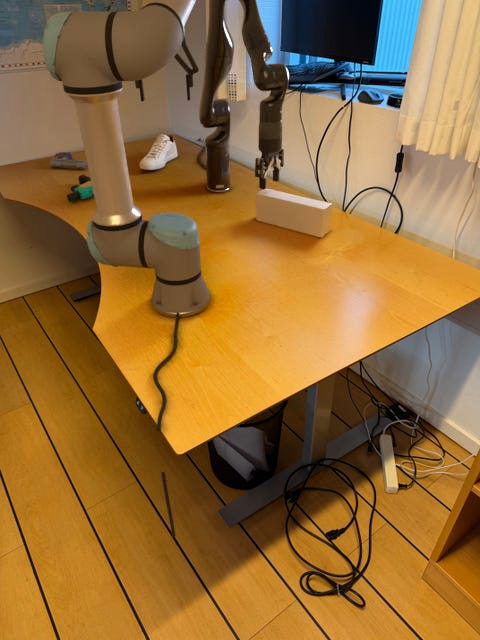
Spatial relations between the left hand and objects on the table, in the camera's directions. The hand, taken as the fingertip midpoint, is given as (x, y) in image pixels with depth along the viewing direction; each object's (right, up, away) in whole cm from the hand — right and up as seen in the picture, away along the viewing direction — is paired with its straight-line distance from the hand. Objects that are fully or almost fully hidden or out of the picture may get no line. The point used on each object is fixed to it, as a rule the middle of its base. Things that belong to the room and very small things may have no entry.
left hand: (165, 100), depth 141 cm
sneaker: (-15, +6, +77) cm, 79 cm away
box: (+40, -33, +22) cm, 56 cm away
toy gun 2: (-40, -15, +49) cm, 65 cm away
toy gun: (-55, +6, +78) cm, 95 cm away
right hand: (+32, -20, +19) cm, 42 cm away
